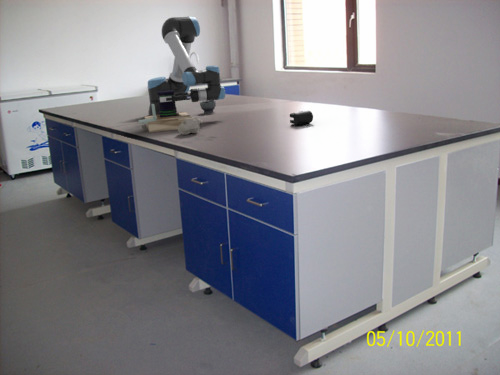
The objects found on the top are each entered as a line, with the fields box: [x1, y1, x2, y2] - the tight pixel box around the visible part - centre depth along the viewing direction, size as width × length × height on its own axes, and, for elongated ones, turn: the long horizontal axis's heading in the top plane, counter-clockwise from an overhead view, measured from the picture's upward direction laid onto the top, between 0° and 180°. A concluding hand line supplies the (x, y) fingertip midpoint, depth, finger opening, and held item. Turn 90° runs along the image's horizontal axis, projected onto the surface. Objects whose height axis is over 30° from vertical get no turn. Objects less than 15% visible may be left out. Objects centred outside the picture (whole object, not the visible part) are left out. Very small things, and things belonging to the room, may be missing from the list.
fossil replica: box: [177, 117, 202, 136], centre depth 256 cm, size 12×8×10 cm
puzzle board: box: [144, 111, 193, 133], centre depth 284 cm, size 30×24×5 cm
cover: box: [138, 104, 157, 125], centre depth 271 cm, size 9×9×9 cm
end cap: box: [289, 110, 314, 127], centre depth 258 cm, size 10×7×7 cm
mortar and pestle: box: [199, 100, 217, 115], centre depth 322 cm, size 11×9×12 cm
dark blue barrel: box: [157, 90, 178, 118], centre depth 288 cm, size 10×10×15 cm
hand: (158, 98), depth 286 cm, fingers closed on dark blue barrel, 10 cm apart
